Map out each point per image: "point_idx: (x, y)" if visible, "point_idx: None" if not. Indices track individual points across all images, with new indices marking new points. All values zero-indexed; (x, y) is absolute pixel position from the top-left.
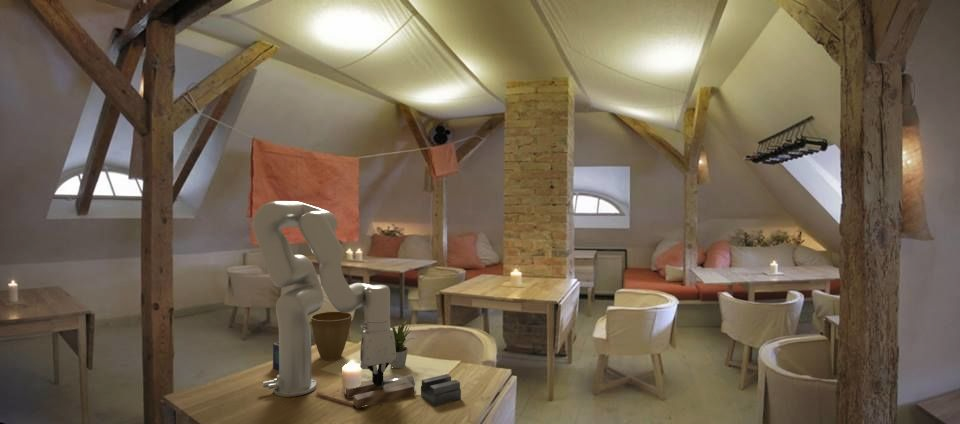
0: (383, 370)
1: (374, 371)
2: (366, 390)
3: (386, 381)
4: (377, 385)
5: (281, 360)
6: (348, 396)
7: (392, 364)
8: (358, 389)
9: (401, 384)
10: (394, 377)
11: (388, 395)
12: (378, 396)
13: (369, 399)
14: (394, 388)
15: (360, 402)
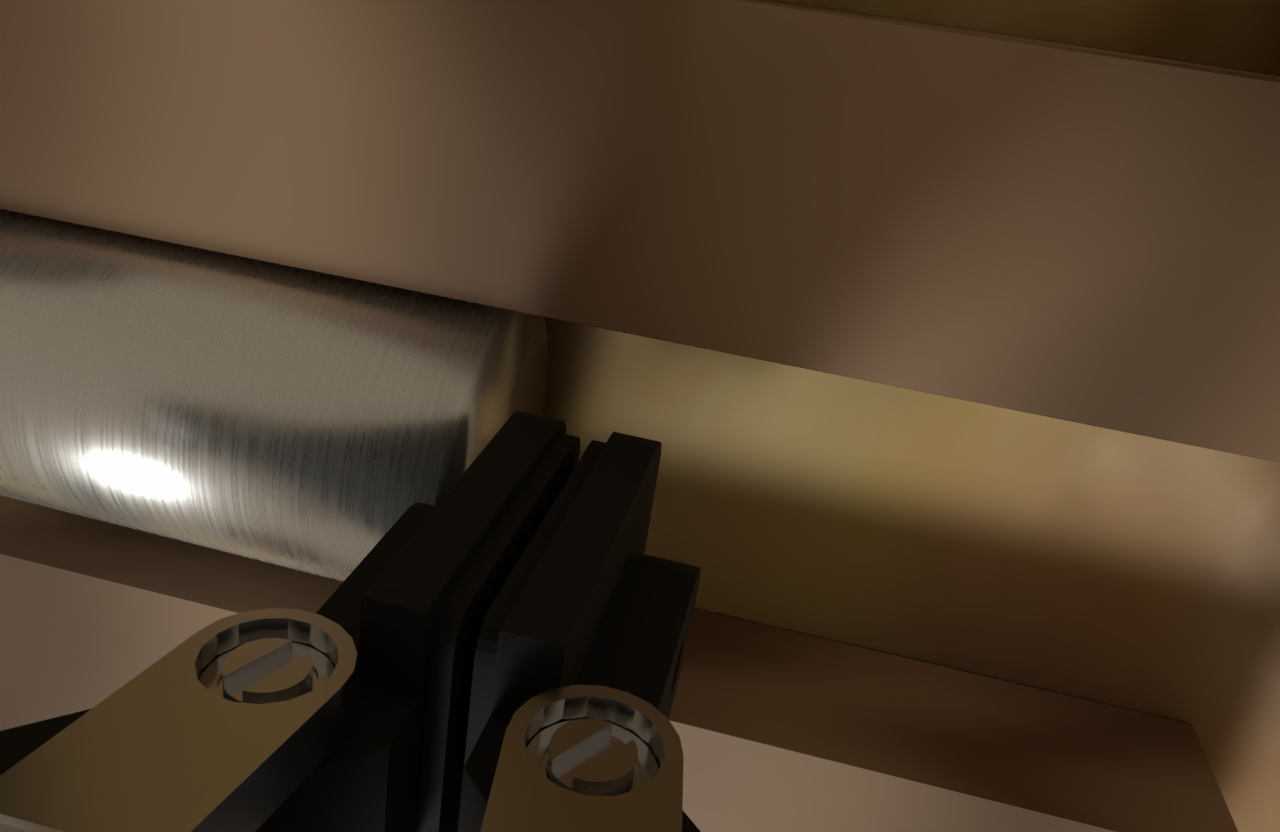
0: (251, 655)
1: (630, 795)
2: (780, 673)
3: (341, 467)
4: (649, 448)
5: None
6: (1191, 744)
7: None
8: (970, 761)
9: (58, 227)
10: (74, 657)
11: None
12: (871, 19)
13: (1157, 62)
14: (296, 117)
15: None
